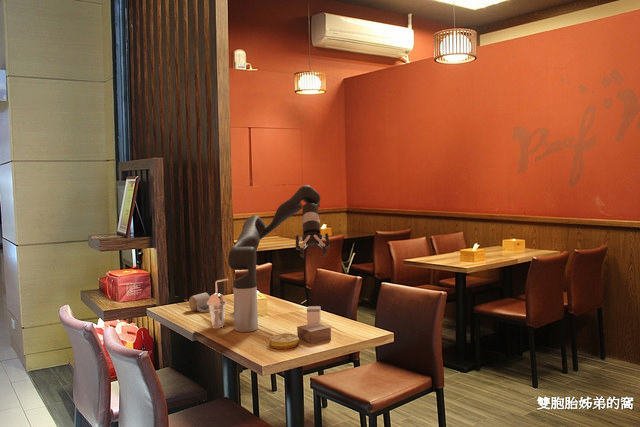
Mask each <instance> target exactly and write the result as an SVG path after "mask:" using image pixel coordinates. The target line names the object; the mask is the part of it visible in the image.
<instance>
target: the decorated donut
mask: <svg viewBox="0 0 640 427" xmlns="http://www.w3.org/2000/svg"><path fill="white" fill-rule="evenodd" d="M268 342H269V344H270V347H272V348H274V349H276V350H277V349H278V350H288V349H291V348H295V347H296V346H297V345H298V343H299V342H300V339H299V338H298V337H297V334H294V333H287V332H284V333H279V334H274V335H272V336H270V338H269V340H268Z"/></svg>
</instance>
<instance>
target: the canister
mask: <svg viewBox="0 0 640 427" xmlns="http://www.w3.org/2000/svg"><path fill="white" fill-rule="evenodd" d="M321 309H322V308H321V306H320V305H316V306H307V308H306V325H308V324H313V323H319V324H322V317H321V316H322V315H321V314H322V310H321Z"/></svg>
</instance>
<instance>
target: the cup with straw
mask: <svg viewBox="0 0 640 427" xmlns="http://www.w3.org/2000/svg"><path fill="white" fill-rule="evenodd" d="M229 280H230V278H223V279H218V280H216V281H215V285H214V286H215V293H213V294H211V295H209V296H210V298H209V301H208V302H207V305H209V310H210V311H209V313H210V321H211V324H212V328H213V329H221V328H220V327H222V328H224V327H223V326H224V325H225V313H226V306H227V304H228V300H227V299H226V297H225V295H224V294H222V293H218V283H220V282H226V281H229Z"/></svg>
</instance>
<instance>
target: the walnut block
mask: <svg viewBox="0 0 640 427" xmlns="http://www.w3.org/2000/svg"><path fill="white" fill-rule="evenodd" d="M296 328H297V329H296V330H297V334H296V336H297V337H298V338H299V341H300V340H301V341H303V342H306V343H308V344H317V343H320V342H325V341H329V340H332V327H330V326H328V325H324V324H322V323H321V324H319V323H313V324H308V325H307V324H305V325H304V324H303V325H297V327H296Z"/></svg>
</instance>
